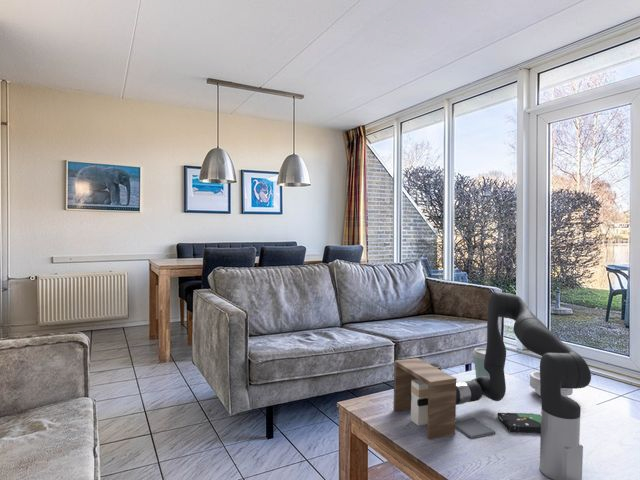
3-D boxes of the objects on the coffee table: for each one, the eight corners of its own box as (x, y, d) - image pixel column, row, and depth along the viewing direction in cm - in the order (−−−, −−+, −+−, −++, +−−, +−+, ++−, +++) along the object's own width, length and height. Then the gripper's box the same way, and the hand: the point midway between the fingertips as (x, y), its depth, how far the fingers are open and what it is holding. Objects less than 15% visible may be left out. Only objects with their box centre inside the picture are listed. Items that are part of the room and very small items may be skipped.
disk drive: (510, 434, 134) (555, 435, 134) (510, 426, 134) (555, 426, 134) (496, 420, 144) (538, 420, 144) (497, 412, 144) (538, 412, 144)
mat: (495, 433, 133) (495, 431, 133) (471, 438, 130) (471, 436, 130) (473, 419, 143) (474, 417, 143) (450, 424, 139) (450, 422, 139)
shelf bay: (455, 434, 133) (456, 378, 132) (429, 439, 129) (430, 382, 129) (416, 406, 153) (417, 358, 153) (393, 410, 150) (394, 360, 149)
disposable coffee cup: (493, 380, 181) (494, 347, 180) (501, 390, 170) (502, 354, 170) (469, 379, 182) (470, 346, 181) (475, 388, 171) (476, 353, 171)
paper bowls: (564, 390, 171) (565, 372, 170) (578, 406, 156) (579, 385, 156) (525, 386, 174) (525, 368, 174) (534, 401, 160) (535, 381, 159)
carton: (429, 423, 139) (430, 383, 139) (418, 425, 138) (418, 385, 137) (421, 417, 144) (422, 378, 143) (410, 419, 142) (411, 380, 142)
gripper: (441, 376, 152) (402, 381, 146) (468, 390, 139) (426, 397, 133) (441, 396, 152) (402, 402, 146) (467, 412, 139) (425, 420, 133)
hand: (413, 399), depth 140 cm, fingers closed on carton, 4 cm apart
